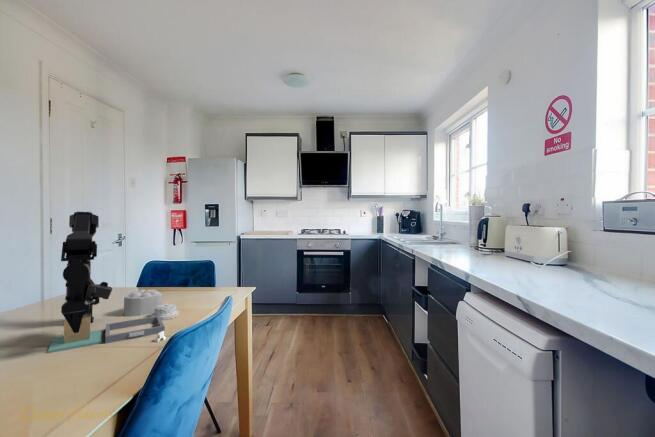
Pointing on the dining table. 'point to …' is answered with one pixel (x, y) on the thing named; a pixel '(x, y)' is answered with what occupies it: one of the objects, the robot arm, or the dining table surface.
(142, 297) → the lumpy-topped squat cylinder
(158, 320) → the grey tapered frame
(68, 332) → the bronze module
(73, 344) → the service mat
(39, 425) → the dining table surface
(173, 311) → the mechanical component
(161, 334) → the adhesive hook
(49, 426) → the dining table surface
